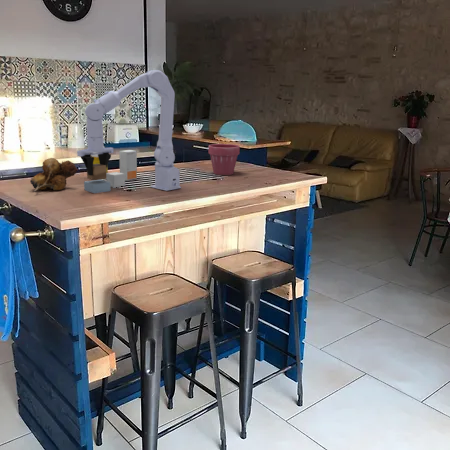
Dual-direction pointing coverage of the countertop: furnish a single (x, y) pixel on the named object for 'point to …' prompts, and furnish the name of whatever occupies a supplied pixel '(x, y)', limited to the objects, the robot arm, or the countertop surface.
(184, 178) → the countertop surface
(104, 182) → the base block
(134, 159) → the skincare box
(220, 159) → the plant pot
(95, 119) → the robot arm
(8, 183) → the countertop surface
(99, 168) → the walnut block
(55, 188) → the seed pod
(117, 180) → the grey block
